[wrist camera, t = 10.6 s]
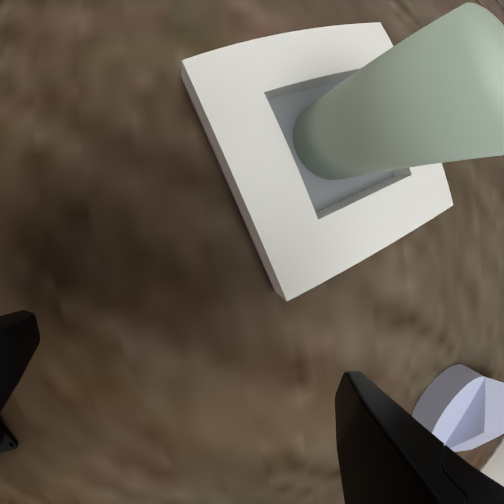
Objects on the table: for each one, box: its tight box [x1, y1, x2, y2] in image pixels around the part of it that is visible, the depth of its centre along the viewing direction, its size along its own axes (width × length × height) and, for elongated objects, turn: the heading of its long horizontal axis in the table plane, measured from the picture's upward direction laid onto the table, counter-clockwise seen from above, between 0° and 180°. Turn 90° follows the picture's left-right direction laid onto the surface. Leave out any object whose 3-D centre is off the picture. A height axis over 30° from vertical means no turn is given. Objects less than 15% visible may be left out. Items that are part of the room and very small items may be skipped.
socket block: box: [181, 22, 453, 301], centre depth 18 cm, size 14×14×2 cm
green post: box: [293, 3, 504, 180], centre depth 12 cm, size 5×5×13 cm
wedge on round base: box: [412, 364, 504, 452], centre depth 23 cm, size 9×7×13 cm
